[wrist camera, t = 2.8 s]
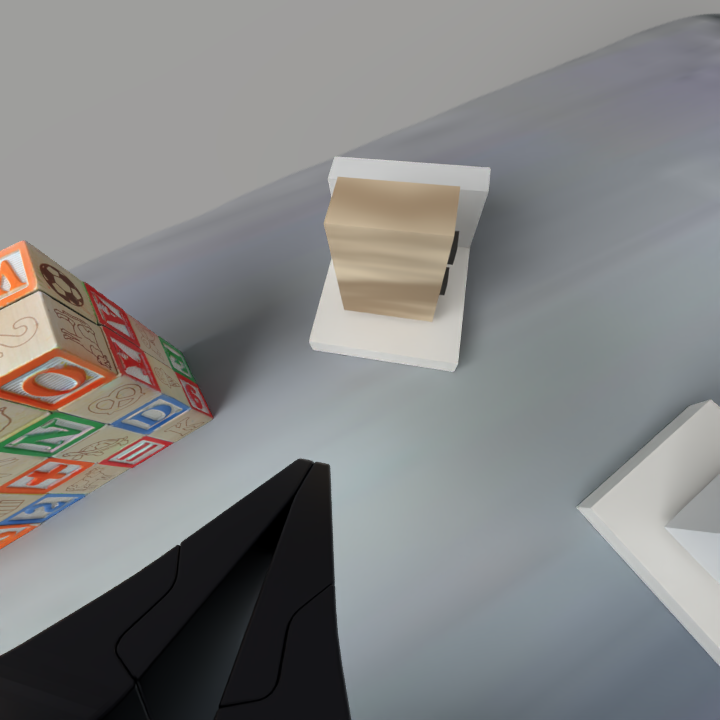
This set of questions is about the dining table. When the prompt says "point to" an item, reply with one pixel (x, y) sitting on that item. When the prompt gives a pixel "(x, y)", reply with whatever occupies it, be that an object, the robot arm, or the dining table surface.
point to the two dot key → (392, 244)
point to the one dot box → (665, 517)
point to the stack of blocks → (77, 391)
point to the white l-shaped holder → (443, 334)
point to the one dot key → (701, 528)
